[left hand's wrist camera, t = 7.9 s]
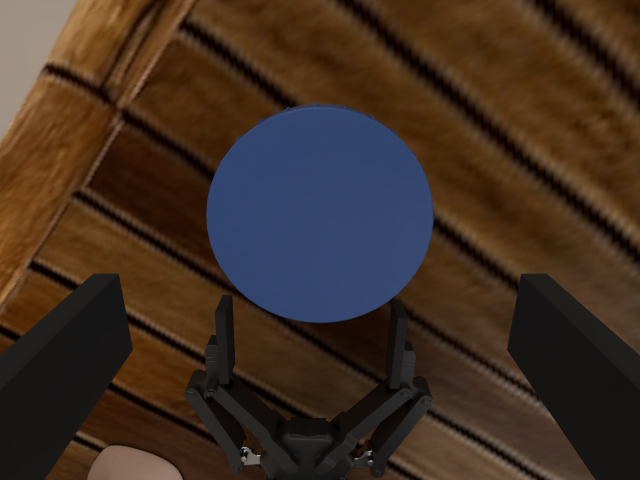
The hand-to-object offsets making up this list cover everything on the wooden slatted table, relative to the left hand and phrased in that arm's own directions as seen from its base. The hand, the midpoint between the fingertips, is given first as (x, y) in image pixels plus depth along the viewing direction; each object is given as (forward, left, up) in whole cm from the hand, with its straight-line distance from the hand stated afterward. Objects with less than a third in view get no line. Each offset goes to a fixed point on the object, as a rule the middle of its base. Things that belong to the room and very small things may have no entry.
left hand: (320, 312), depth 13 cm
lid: (0, 0, -9) cm, 9 cm away
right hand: (-5, +8, -17) cm, 20 cm away
